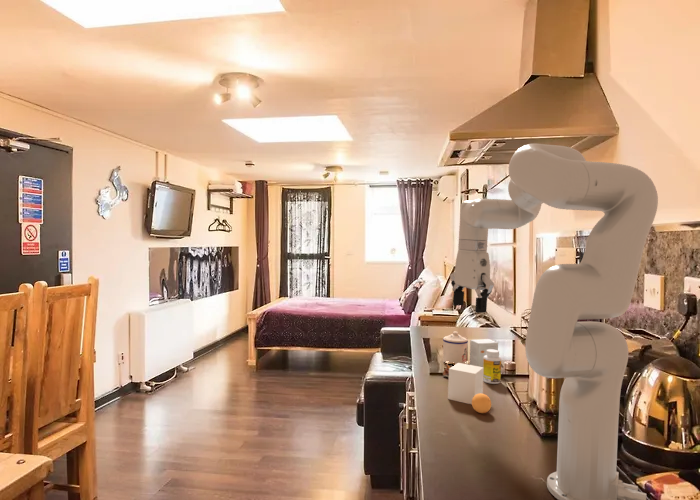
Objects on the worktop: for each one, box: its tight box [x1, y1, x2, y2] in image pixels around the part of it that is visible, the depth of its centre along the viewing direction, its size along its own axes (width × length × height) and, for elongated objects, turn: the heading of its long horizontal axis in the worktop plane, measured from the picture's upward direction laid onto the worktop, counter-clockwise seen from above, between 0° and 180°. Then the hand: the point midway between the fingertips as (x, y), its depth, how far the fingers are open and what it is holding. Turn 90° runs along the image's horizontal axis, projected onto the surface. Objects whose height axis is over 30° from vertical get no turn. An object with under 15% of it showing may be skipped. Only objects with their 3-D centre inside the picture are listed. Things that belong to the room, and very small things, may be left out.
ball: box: [471, 393, 492, 414], centre depth 118 cm, size 5×5×5 cm
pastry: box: [442, 364, 452, 378], centre depth 152 cm, size 7×12×4 cm, turn 173°
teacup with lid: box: [442, 331, 469, 364], centre depth 166 cm, size 12×9×12 cm
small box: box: [469, 338, 499, 367], centre depth 157 cm, size 8×6×10 cm
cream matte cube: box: [447, 363, 484, 405], centre depth 128 cm, size 8×8×9 cm
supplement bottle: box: [483, 349, 502, 385], centre depth 144 cm, size 6×6×10 cm
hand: (469, 308), depth 121 cm, fingers open, 9 cm apart
